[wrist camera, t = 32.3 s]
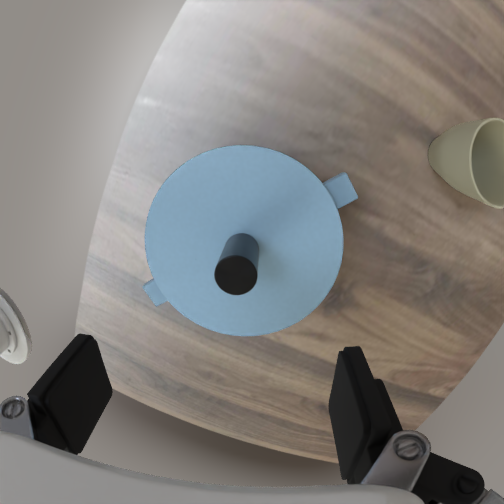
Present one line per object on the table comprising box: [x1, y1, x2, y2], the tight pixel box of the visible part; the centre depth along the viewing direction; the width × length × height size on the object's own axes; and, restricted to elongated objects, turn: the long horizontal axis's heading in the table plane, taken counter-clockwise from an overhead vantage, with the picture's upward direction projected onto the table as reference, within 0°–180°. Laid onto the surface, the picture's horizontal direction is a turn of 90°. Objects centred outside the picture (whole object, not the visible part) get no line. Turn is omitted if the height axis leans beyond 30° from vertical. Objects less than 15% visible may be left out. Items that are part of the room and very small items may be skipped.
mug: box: [428, 118, 504, 208], centre depth 27 cm, size 11×10×12 cm
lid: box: [145, 145, 343, 336], centre depth 23 cm, size 17×17×7 cm
